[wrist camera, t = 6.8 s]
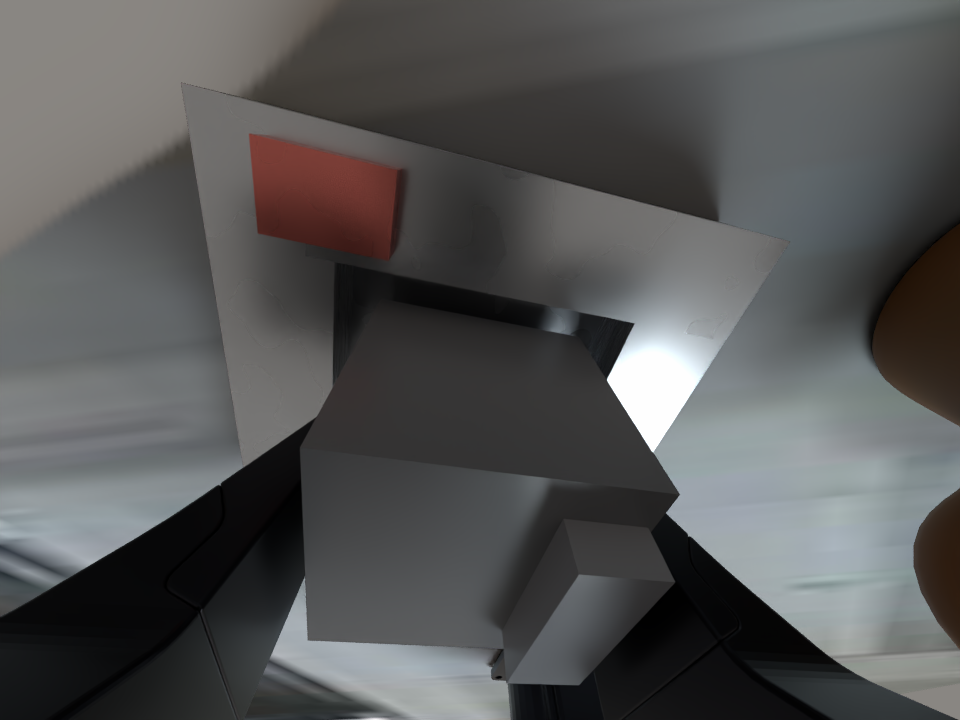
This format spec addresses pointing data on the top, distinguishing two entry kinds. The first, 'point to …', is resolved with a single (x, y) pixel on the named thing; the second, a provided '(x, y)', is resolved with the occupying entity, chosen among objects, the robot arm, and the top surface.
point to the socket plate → (443, 261)
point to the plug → (480, 497)
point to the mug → (930, 400)
